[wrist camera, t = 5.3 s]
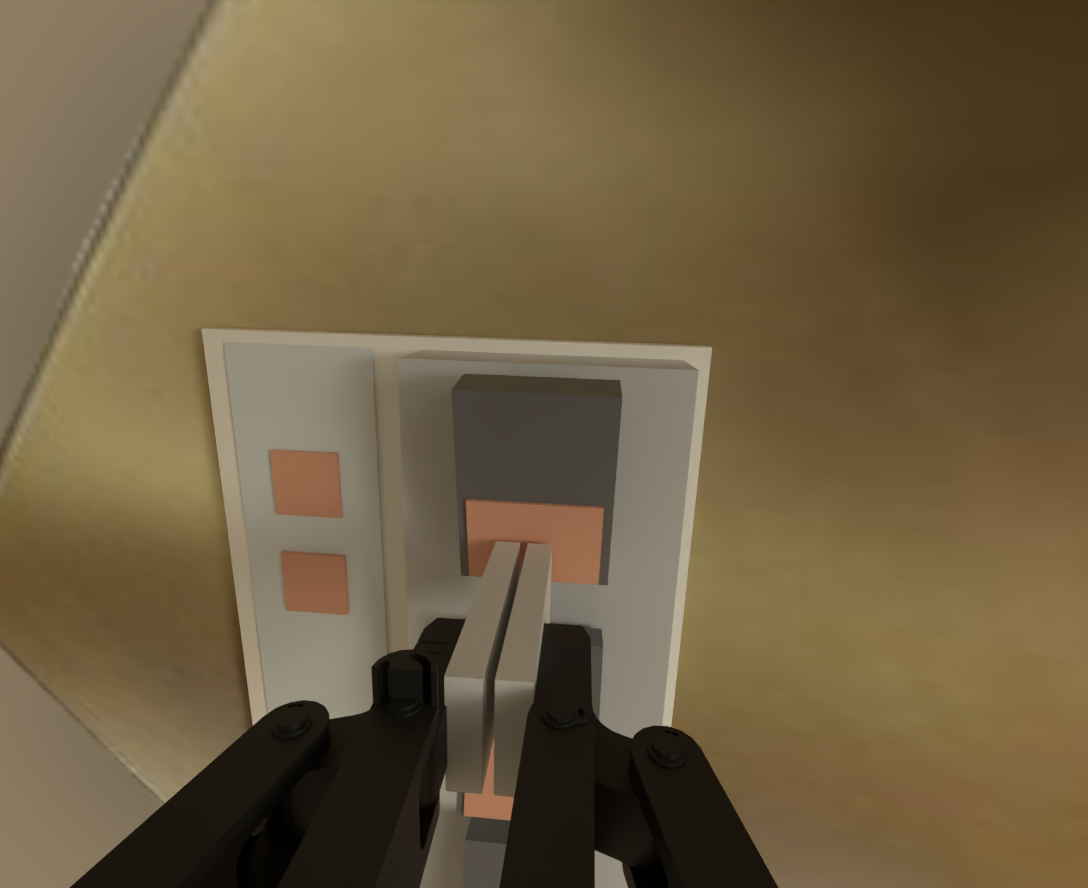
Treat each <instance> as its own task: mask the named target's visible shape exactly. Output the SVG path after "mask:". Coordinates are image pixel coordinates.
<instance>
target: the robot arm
mask: <svg viewBox="0 0 1088 888" xmlns="http://www.w3.org/2000/svg"><path fill="white" fill-rule="evenodd" d="M551 568H552V545H551V544H533V543H528V545H527V549H526V553H525V558H524V562H523V566H522V570H521V574H520V543H516V542H499V541H496V543H495V545H494V548H493V551H492V553H491V556H490V558H489V561H488V564H487V566H486V569H485V571H484V574H483V577H482V579H481V582H480V584H479V587H478V590H477V592H476V595H475V597H474V600H473V603H472V605H471V608H470V610H469V613H468V616H467V618H466V619H452V618H436V619H435V620H434V621H433V622H431V623H430V624H429V625H427V626H426V627H425V628H424V629H423V631H422V633H421V635H420V637H419V639H418V643H416V645H415V647H414V649H410V650H399V651H396V652H392V653H389V654H387V655H385V656H383V657H382V658H380V659H378V660H377V661H376V662H375V663H374V665H373V666H372V667H371V671H372V692H373V704H372V706H371V708H370V710H368V711H366V712H364V713H360V714H356V715H352V716H345V717H339V718H333V719H329V712H328V710H327V709H326V707H325V706H324V705H322V704H320V703H318V702H316V701H307V700H301V701H295V702H289V703H287V704H284V705H282V706H279V707H277V708H275V709H273V710H272V711H271V712H269V713H268V714H266V715H265V716H263V717H262V718H261V719H260V720H259V721H258V722H257V723H255V724H254V725H253V726H252V727H251V728H250V729H249V730H248V731H246V732H245V733H244V734H243V735H242V736H241V737H240V738H239V739H237V740H236V741H235V742H234V743H233V744H232V745H231V746H229V747H228V748H227V749H226V750H225V751H224V752H223V753H222V754H220V755H219V756H218V757H217V758H216V759H215V760H214V761H212V762H211V763H210V764H209V765H208V766H207V767H206V768H205V769H203V770H202V771H201V772H200V773H199V774H198V775H197V776H195V777H194V778H193V779H192V780H191V781H190V782H189V783H188V784H186V785H185V786H184V787H183V788H182V789H181V790H180V791H179V792H177V793H176V794H175V795H174V796H173V797H172V798H171V799H169V800H168V801H167V802H166V803H165V804H164V805H163V806H162V807H160V808H159V809H158V810H157V811H156V812H155V813H154V814H153V815H151V816H150V817H149V818H148V819H147V820H146V821H145V822H143V824H141V825H140V826H139V827H138V828H137V829H135V830H134V831H133V832H132V833H131V834H130V835H129V836H128V837H127V838H125V839H124V840H123V841H122V842H121V843H120V844H119V845H117V846H116V847H115V848H114V849H113V850H112V851H111V852H110V853H108V854H107V855H106V856H105V857H104V858H103V859H102V860H101V861H99V863H97V864H96V865H95V866H94V867H93V868H91V869H90V870H89V871H88V872H87V873H86V874H85V875H83V876H82V877H81V878H80V879H79V880H78V881H77V882H76V883H75V884H73V885H72V886H71V887H70V888H420V884H421V880H422V877H423V873H424V869H425V866H426V862H427V858H428V855H429V851H430V847H431V843H432V840H433V836H434V832H435V829H436V825H437V821H438V818H439V813H440V789H441V785H442V782H443V779H444V775H446V791H450V792H462V793H474V794H482V791H483V787H484V782H485V777H486V773H487V768H488V763H489V758H490V754H491V749H492V744H493V740H494V795H497V796H508V797H514V801H513V807H512V813H511V819H510V825H509V832H508V838H507V844H506V850H505V856H504V862H503V868H502V874H501V881H500V887H499V888H595V851H598V852H600V853H602V854H605V855H607V856H609V857H611V858H614V859H616V860H618V861H621V862H622V868H623V873H624V876H625V880H626V883H627V886H628V888H778V886H777V884H776V883H775V881H774V879H773V877H772V875H771V874H770V872H769V870H768V868H767V866H766V865H765V863H764V861H763V859H762V857H761V856H760V854H759V852H758V850H757V848H756V847H755V845H754V843H753V841H752V840H751V838H750V836H749V834H748V832H747V831H746V829H745V827H744V825H743V823H742V822H741V820H740V818H739V816H738V814H737V813H736V811H735V809H734V807H733V805H732V804H731V802H730V800H729V798H728V796H727V795H726V793H725V791H724V789H723V787H722V786H721V784H720V782H719V780H718V778H717V777H716V775H715V773H714V771H713V769H712V768H711V766H710V764H709V762H708V760H707V759H706V757H705V755H704V753H703V751H702V750H701V748H700V747H699V746H698V744H697V743H696V742H695V741H694V739H693V738H691V737H690V736H688V735H687V734H685V733H684V732H682V731H681V730H678V729H675V728H672V727H669V726H656V725H654V726H650V727H646V728H643V729H641V730H640V731H639V732H637V733H636V734H635V735H634V737H633V738H630V737H627V736H624V735H621V734H619V733H616V732H614V731H612V730H610V729H609V728H607V727H606V726H604V725H603V724H602V723H601V722H600V721H599V720H598V719H597V717H596V715H595V713H594V712H593V707H592V676H591V637H590V636H589V635H588V633H587V632H586V630H585V629H584V627H583V626H579V625H564V624H549V623H550V596H551Z"/></svg>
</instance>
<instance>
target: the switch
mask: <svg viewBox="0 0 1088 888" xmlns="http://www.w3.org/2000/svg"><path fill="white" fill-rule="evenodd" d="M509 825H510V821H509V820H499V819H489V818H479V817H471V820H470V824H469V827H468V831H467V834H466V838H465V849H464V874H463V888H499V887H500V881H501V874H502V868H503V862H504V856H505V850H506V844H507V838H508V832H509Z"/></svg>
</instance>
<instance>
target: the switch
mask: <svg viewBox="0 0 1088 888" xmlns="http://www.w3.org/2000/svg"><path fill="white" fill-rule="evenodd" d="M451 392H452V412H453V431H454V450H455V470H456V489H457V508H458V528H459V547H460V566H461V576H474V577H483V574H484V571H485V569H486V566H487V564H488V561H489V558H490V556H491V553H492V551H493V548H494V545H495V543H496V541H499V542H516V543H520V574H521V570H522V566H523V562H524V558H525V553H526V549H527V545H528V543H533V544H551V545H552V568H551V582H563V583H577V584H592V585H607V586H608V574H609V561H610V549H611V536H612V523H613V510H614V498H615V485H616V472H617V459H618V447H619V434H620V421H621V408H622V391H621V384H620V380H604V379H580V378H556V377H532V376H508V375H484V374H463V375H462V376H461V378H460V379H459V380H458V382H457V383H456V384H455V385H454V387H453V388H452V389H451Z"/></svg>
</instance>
